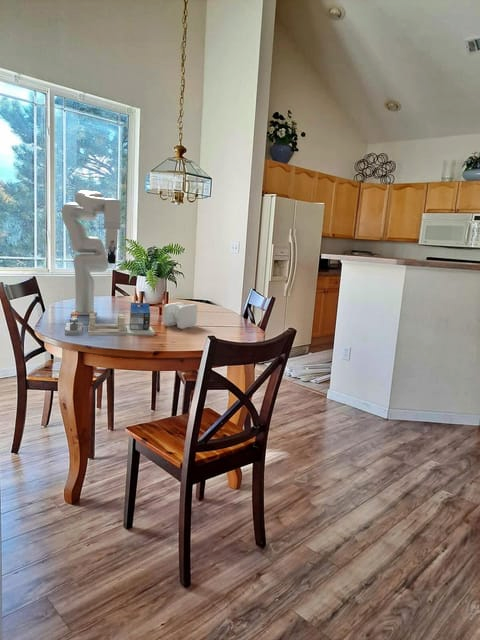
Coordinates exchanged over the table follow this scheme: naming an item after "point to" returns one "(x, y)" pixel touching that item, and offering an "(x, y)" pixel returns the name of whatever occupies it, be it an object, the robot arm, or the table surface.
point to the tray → (140, 331)
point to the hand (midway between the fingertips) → (111, 262)
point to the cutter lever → (74, 318)
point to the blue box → (139, 316)
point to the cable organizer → (180, 315)
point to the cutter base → (73, 329)
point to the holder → (106, 327)
